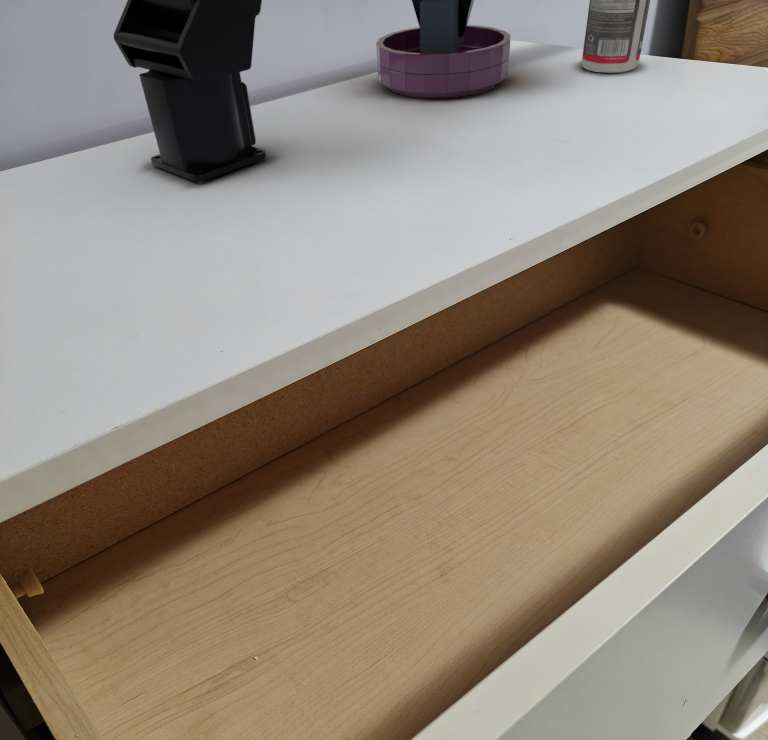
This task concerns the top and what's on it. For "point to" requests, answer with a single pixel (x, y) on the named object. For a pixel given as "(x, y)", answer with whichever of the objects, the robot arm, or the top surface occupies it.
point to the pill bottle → (614, 35)
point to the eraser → (439, 26)
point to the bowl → (443, 64)
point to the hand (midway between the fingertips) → (443, 36)
